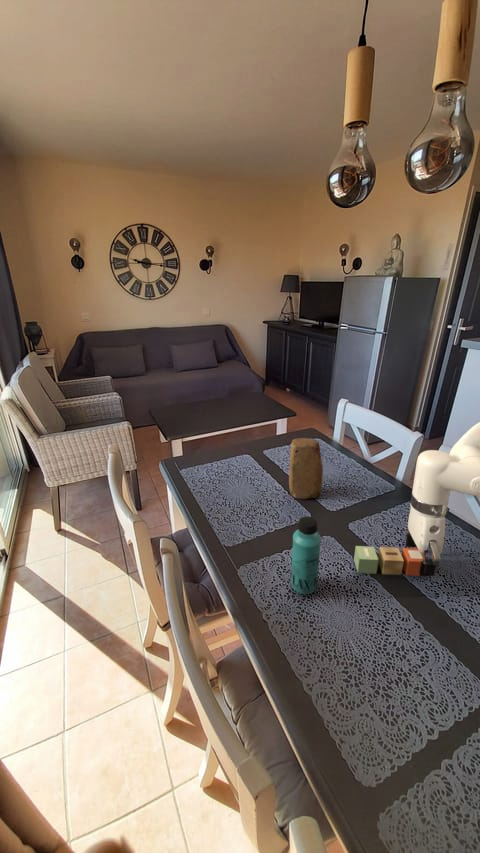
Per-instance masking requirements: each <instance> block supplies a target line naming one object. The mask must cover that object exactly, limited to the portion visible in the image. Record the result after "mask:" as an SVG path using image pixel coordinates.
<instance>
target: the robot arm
mask: <svg viewBox="0 0 480 853" xmlns="http://www.w3.org/2000/svg"><path fill="white" fill-rule="evenodd" d="M413 478H414V479H413V484H412V490H411V497H410V503H409V505H410V509H409V511H408V520H407V528H406V531H407V533H406V538H405V544H404V545H405V548H418V549H419V551H420V552H422V558H423V561H421V564H420V570H419V575H420V576H419V577H434V575H435V571H436V566H438V565H440V563H441V561H442V557H441V554H442V552H443V551H444V550H443V549H444V544H445V537H446V536H445V535H446V516H445V515H447V512H448V511H447V510H448V506H449V500H450V496H451V492H452V491H453V492H456V493H459V494H464V495H467V496H472V497H479V498H480V421H479V422H477V423H476V424H474V425H473V426H472V427H471V428H469V429H468V430H467V431H466V432H465V433H464V434H463V435H462V436H461V437H460V439H458V441H456V442H455V443H454V445H453V446H452V447H451V449H450V451H449V452H448V453H447V452H445V451H442V450H436V449H428V450H424V451H422V452H420V453H419V455H418V456H417V459H416V465H415V472H414V476H413ZM428 548H429V549H428ZM427 554H431V557H430V558H428V557H427Z"/></svg>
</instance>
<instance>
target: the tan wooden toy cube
mask: <svg viewBox="0 0 480 853" xmlns="http://www.w3.org/2000/svg"><path fill="white" fill-rule="evenodd" d="M378 548H379V549H378V555H377V557H378V567H379V569H380V572H381V574H382V575H391V576H393V575H394V576H402V573H403V563H404V560H403V558H402V552H401V551H400V549H399V547H392V546H391V547H390V546H379V547H378Z"/></svg>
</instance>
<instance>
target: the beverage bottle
mask: <svg viewBox="0 0 480 853" xmlns="http://www.w3.org/2000/svg"><path fill="white" fill-rule="evenodd" d="M321 542H322V537H321V535H320V533H319V532H318V522H317V520H316V519H315V518H314V517H312V516H309V515H308V516H302V517H301V518H299V520H298V525H297V529H296V530H295V531H294V532H293V535H292V551H291V554H292V555H291V566H290V576H289V577H290V579H289V580H290V584H291V588H292V589H293V590H294V591H295V592H296V593H298V594H301V595H310V594H312V593H314V592H315V591H316V589H317V588H318V584H319V583H318V580H319V575H320V574H319V568H320V555H321V552H320V551H321Z"/></svg>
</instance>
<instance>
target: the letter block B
mask: <svg viewBox="0 0 480 853" xmlns="http://www.w3.org/2000/svg"><path fill="white" fill-rule="evenodd" d="M353 562H354V565H355V569H356V573H357V574H368V575H369V574H370V575H371V574H373V575H374V574H375V575H377V572H378V567H379V563H378V555H377V552H376V548H375V546H367V545H365V546H364V545H355V549H354V555H353Z"/></svg>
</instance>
